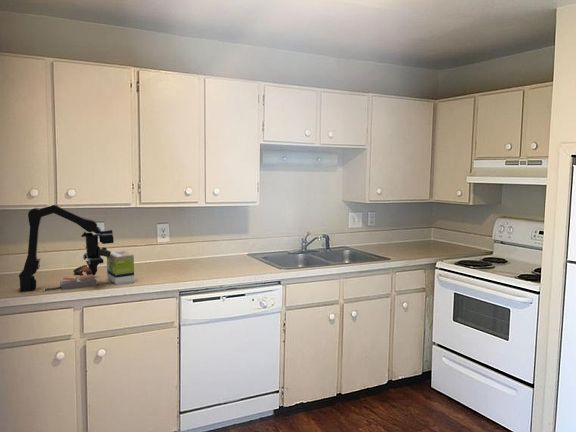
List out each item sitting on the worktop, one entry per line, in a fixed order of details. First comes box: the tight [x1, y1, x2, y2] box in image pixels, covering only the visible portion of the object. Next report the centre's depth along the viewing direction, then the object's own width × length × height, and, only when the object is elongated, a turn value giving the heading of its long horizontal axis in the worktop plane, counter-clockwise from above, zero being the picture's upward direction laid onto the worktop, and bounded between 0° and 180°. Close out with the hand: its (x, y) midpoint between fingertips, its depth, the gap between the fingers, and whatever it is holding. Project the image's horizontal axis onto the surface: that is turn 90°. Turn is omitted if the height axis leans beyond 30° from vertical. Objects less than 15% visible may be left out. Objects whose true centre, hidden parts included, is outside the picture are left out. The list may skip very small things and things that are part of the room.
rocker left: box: [62, 275, 78, 281], centre depth 233 cm, size 6×3×1 cm, turn 124°
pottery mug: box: [73, 264, 98, 279], centre depth 254 cm, size 12×10×8 cm
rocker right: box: [79, 274, 95, 279], centre depth 237 cm, size 6×3×1 cm, turn 123°
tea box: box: [106, 250, 135, 285], centre depth 248 cm, size 15×10×15 cm, turn 37°
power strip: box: [44, 277, 98, 292], centre depth 233 cm, size 23×6×3 cm, turn 123°
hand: (94, 275), depth 239 cm, fingers closed, pressing on rocker right
